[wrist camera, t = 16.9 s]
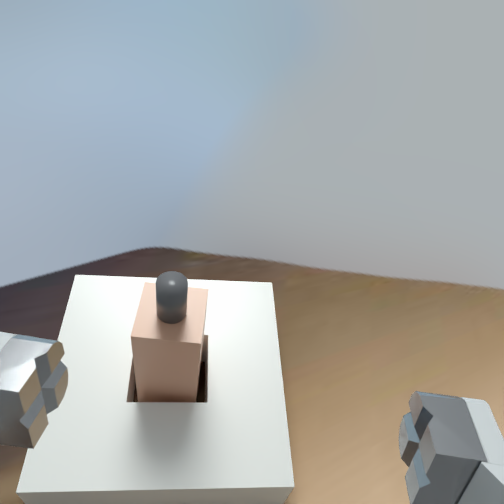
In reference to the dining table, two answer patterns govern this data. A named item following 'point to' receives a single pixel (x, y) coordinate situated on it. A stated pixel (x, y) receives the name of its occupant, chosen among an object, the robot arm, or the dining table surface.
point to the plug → (169, 339)
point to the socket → (165, 408)
